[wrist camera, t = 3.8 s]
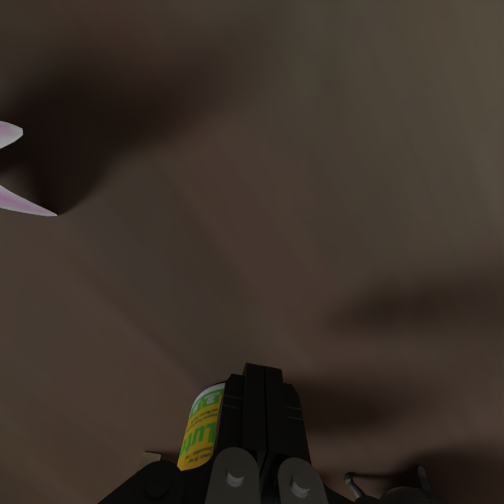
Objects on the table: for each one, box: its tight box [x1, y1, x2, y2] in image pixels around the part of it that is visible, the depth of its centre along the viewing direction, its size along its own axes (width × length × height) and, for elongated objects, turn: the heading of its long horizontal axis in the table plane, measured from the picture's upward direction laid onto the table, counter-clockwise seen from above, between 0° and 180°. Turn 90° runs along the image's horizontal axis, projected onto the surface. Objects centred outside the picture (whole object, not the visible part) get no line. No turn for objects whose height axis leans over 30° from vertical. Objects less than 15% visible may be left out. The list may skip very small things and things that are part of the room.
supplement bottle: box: [177, 383, 225, 471], centre depth 14 cm, size 5×5×10 cm
